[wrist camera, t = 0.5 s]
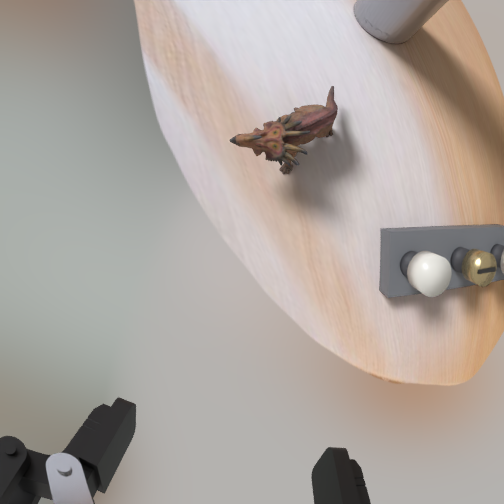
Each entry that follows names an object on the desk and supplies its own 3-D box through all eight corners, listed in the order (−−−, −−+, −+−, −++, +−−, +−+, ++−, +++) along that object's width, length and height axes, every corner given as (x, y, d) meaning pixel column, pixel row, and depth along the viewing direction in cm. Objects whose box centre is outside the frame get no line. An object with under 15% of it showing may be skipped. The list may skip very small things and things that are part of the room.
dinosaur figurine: (267, 189, 34) (269, 187, 25) (236, 151, 33) (226, 136, 24) (354, 124, 32) (382, 103, 23) (324, 87, 31) (342, 56, 22)
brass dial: (484, 247, 27) (499, 252, 24) (481, 278, 28) (495, 285, 25) (463, 249, 28) (477, 254, 25) (460, 282, 28) (474, 289, 25)
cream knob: (439, 249, 28) (453, 254, 25) (436, 286, 29) (449, 294, 26) (408, 252, 28) (420, 257, 25) (405, 291, 29) (417, 299, 26)
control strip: (497, 224, 33) (514, 227, 29) (493, 274, 34) (509, 281, 30) (380, 228, 34) (394, 233, 30) (379, 290, 35) (391, 301, 31)
